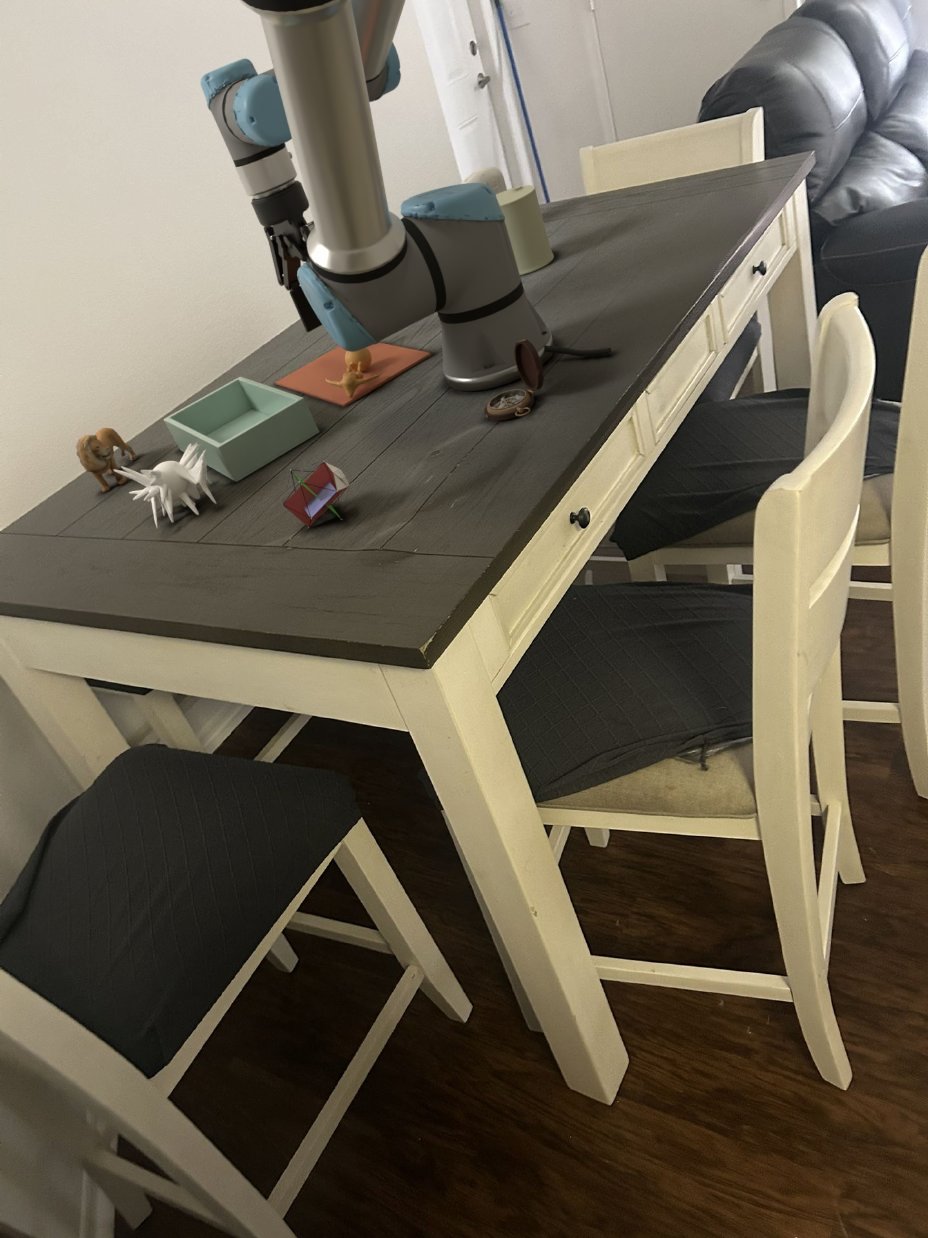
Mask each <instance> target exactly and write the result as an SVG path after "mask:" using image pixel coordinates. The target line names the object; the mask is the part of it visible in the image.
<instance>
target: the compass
mask: <svg viewBox="0 0 928 1238" xmlns="http://www.w3.org/2000/svg"><path fill="white" fill-rule="evenodd" d="M514 353H515V361H516V365H517V369H518V372H519V374H520V377H521V378H520V379H521V381H522V382H523V384H524V386H525V387H526V389H527V390H524V389H519V388H517V389H516V388H515V389H510V390H505V391H504V392H501V393H498V394H497V395H495V396H494V397H493V398H491V399H490V400H489V402H488V403H487V405H486V406H485V408H484V413H485V417H486V419H488V420H491V421H506V420H507V421H508V420H511V419H514V418H517V417H523V416H525V415H528V414H529V413H530V412H531V408H532V406H533V405H534V402H535V396H534V394H535V392H536V391H538V390H540V389H542V387H543V385H544V380H545V377H544V376H545V374H544V373H545V372H544V367H543V365H542V363H541V360H540V357H539V355H538V352H537V351H536V349H535V347H534V346H533V345H532V343H531V342H530V341H528V340H527V339H523V340H520V341H518V342H516V345H515V350H514Z"/></svg>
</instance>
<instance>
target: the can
mask: <svg viewBox="0 0 928 1238" xmlns="http://www.w3.org/2000/svg"><path fill="white" fill-rule="evenodd" d="M496 197H497V200H498V203H499V205H500V208H501V211H502V213H503V215H504V216H505V224H506V228H507V231H508V235H509V238H510V242H511V245H512V249H513V253H514V256H515V260H516V263H517V267H518V270H519V274H520V276H524V275H526V274H527V275H528V274H530V273H533V272H535V271H538V270H540V269H542V268H544V267H545V266H547V265H548V264H550V263H551V262H552V261H553V260H554V257H555V255H554V253H553V251H552V247H551V244H550V241H549V240H550V239H549V237H548V233H547V230H546V226H545V222H544V217H543V213H542V210H541V207H540V203H539V198H538V194H537V189H536V186H535V185H534V184H525V185H520V186H515V187H512V188H509V189H507V190H506V191H503V192H501V193H498V194H496Z"/></svg>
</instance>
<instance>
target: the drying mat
mask: <svg viewBox="0 0 928 1238" xmlns="http://www.w3.org/2000/svg"><path fill="white" fill-rule="evenodd" d="M366 348H367V349H368V350H369V351H370V353H371V357H372V361H371V364H370V366H369V367H368V369H366V370H365V371H362V373H363V378H362V379H364V378H368V377H371V376H374V375H378V374H380V373H381V375H380V376H379V377H377V378H375V379H372V380H370V381H368V382H366V383H363V384H361V385H359V386H358V387H357V388H356V389H355V391H354V395H353V397H352V398H349V397H348V395H347V393H346V391H345V390H344V389H343V388H341V387H339V386H335V385H331V384H329V383H327V382H326V379H327V380H330V381H337V382H341V381H342V379H343V375H344V374H345V373H346V372H347V368H348V366H347V364H346V361H345V354H346V352H347V351H346V350H344V349H343V348H341V347H340V346H339V345H338V346H336V347H335V348H333V349H331V350H330V351H328V352H326V353H324V354H323V355H321V356H319V357H317V358H316V359H313V360H312V361H310V362H308V363H307V364H305V365H303V366H301V367H300V368H298V369H296V370H294V371H292V372H290V373H289V374H288V375H286V376H284V377H282V378H280V379H279V380H277V381H275V384H276V386H280V387H283V388H285V389H288V390H292V391H295V392H298V393H302V394H305V395H307V396H311V397H314V398H317V399H320V400H323V401H325V402H329V403H332V404H335V405H337V406H341V407H343V408H344V407H345V408H346V407H347V406H349V405H350V404H352V403H354V402H356V401H358V400H359V399H361V398H362V397H364V396H366V395H367V394H369V393H371V392H373V391H374V390H375V389H377V388H379V387H381V386H382V385H384V384H386V383H388V382H389V381H391V380H392V379H395V378H396V377H397V376H399V375H401V374H403V373H404V372H406V371H408V370H410V369H411V368H413V367H414V366H416V365H418V364H419V363H421V362H423V361H425V360H426V359H428V358H430V357H431V356H432V353H431V352H429V351H423V350H418V349H413V348H408V347H403V346H398V345H394V344H388V343H383V342H379V343H378V344H373V345H371V346H368V347H366ZM352 372H353V373H356V372H355V371H353V370H352ZM347 373H348V372H347ZM325 378H326V379H325ZM357 380H361V379H357Z"/></svg>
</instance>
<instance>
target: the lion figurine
mask: <svg viewBox="0 0 928 1238" xmlns="http://www.w3.org/2000/svg"><path fill="white" fill-rule="evenodd" d="M114 447H116V448H118V449H120V456H121V457H125V456H126V455H127V454H126V452H128V454H129V460H130V461H135V460H137V459H138V455H137V454H136V452H135V451H134V450H133V448H132V446H131V445H130V444H127V443H126V442H125V441H124V440H123V439H122V437H121V435H119V433H118V432H117V431H116V430H115V429H114V428H111V427H103V428H101V429H99V430H98V431H97V432H95V434H85V435H83V436H81V438H79V439H78V441H77V442H76V446H75V449H76V455H77V457H78V459H79V462H80V465H81V466H82V467H83V468H84V470H85V471H86V472H87V473H91V474H92V475H93V477H94V478H95V479H96V480H97V481H98V482H99V483H100V485H101V486H102V487H101V491H102V492H103V493H106V492H108V491H110V489H111V486H110V484H109V483H108V481H107V480H106V479H105V477H104V476H103V474H106V473H107V472H108V473H109V474H110V475H112V474H113V476H114V479H115V481H116V482H117V483H118V485H121V486H122V485H123V484H125V483H127V482H128V480H127V479H126V477H125V476H124V475H121V474H119V473H117V472H115V471H114V470H119V467H118V465H117V459H116V458H115V456H114V455H115V451H114V449H115V448H114ZM125 451H126V452H125Z"/></svg>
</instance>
